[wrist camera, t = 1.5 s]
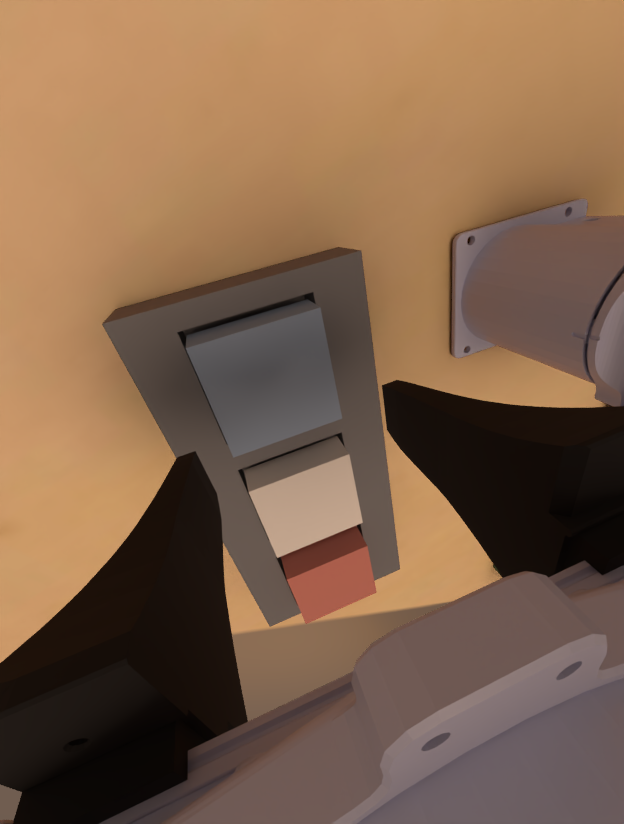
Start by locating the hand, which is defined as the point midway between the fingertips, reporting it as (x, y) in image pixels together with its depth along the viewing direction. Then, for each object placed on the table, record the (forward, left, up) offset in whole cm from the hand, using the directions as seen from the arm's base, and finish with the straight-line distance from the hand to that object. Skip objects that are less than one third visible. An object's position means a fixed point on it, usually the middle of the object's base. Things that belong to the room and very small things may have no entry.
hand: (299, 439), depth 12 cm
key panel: (0, +8, -9) cm, 13 cm away
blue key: (0, 0, -7) cm, 7 cm away
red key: (0, +17, -7) cm, 18 cm away
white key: (0, +8, -7) cm, 11 cm away
